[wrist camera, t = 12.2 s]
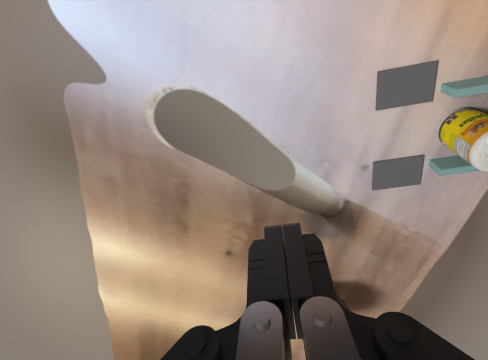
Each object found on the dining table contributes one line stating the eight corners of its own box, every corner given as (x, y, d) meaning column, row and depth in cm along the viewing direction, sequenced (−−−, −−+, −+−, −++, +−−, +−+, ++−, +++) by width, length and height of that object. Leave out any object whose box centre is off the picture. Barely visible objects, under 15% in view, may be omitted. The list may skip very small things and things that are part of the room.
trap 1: (373, 161, 42) (373, 162, 42) (423, 154, 41) (424, 155, 41) (372, 189, 45) (372, 190, 45) (419, 183, 44) (419, 184, 44)
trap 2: (377, 71, 36) (378, 71, 36) (437, 60, 35) (438, 60, 35) (375, 109, 38) (376, 110, 38) (431, 100, 37) (432, 101, 37)
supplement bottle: (482, 101, 37) (552, 130, 28) (476, 139, 40) (538, 176, 31) (436, 111, 38) (490, 142, 29) (433, 148, 41) (481, 186, 32)
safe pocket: (441, 83, 36) (456, 89, 34) (506, 72, 35) (526, 77, 33) (428, 165, 42) (439, 175, 40) (484, 158, 41) (498, 168, 39)
